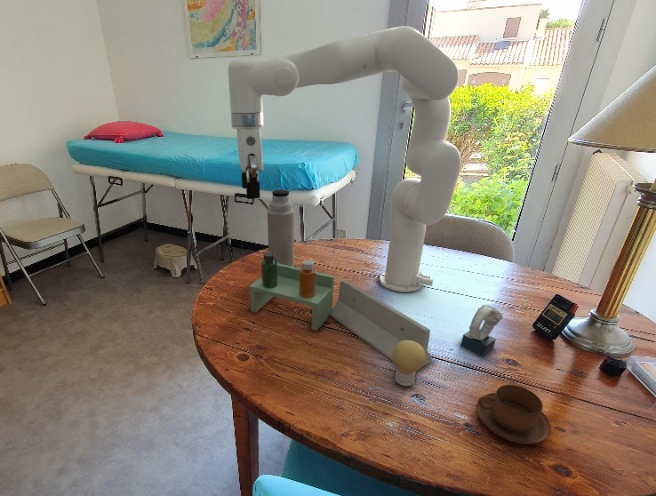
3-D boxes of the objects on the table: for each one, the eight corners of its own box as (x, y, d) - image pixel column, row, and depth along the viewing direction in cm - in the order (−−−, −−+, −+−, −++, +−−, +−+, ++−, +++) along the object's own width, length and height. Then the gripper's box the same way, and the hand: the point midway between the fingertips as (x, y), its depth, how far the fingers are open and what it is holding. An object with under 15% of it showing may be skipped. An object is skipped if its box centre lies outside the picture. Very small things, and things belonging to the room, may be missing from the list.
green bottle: (280, 283, 109) (280, 252, 104) (272, 289, 105) (272, 258, 101) (267, 279, 110) (266, 249, 106) (259, 286, 107) (257, 255, 103)
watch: (497, 346, 95) (509, 307, 90) (478, 360, 91) (490, 319, 86) (474, 335, 99) (485, 297, 94) (455, 348, 95) (465, 308, 90)
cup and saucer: (493, 450, 70) (502, 425, 67) (464, 400, 80) (470, 376, 77) (562, 449, 70) (574, 424, 67) (524, 399, 80) (533, 375, 77)
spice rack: (332, 312, 110) (334, 275, 105) (317, 330, 103) (318, 292, 97) (268, 295, 119) (267, 260, 114) (250, 311, 111) (248, 275, 106)
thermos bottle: (270, 272, 132) (268, 187, 119) (294, 272, 132) (295, 187, 118) (267, 283, 125) (265, 194, 112) (293, 284, 125) (293, 195, 111)
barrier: (329, 315, 108) (331, 283, 104) (349, 308, 112) (352, 276, 107) (410, 373, 88) (416, 335, 83) (432, 361, 91) (439, 325, 86)
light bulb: (421, 376, 87) (429, 338, 82) (417, 396, 82) (425, 357, 77) (391, 368, 89) (397, 331, 84) (385, 387, 84) (391, 348, 79)
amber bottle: (317, 292, 104) (319, 260, 99) (311, 299, 101) (311, 267, 96) (303, 288, 106) (303, 257, 101) (296, 295, 102) (296, 263, 98)
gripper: (269, 124, 87) (271, 201, 95) (257, 116, 102) (260, 183, 110) (235, 125, 86) (239, 204, 94) (228, 117, 101) (232, 185, 109)
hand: (250, 192), depth 102 cm, fingers open, 9 cm apart
